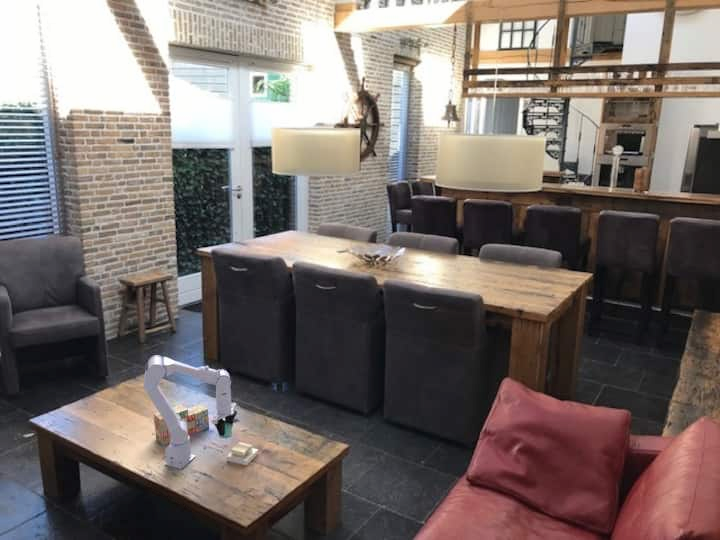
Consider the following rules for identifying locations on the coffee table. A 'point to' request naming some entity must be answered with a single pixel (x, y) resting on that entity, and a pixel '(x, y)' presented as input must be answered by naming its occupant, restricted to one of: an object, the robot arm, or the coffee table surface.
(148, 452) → the coffee table surface
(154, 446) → the coffee table surface
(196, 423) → the stack of blocks
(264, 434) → the coffee table surface
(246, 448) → the maple block
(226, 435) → the teal rounded piece
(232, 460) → the white slab
